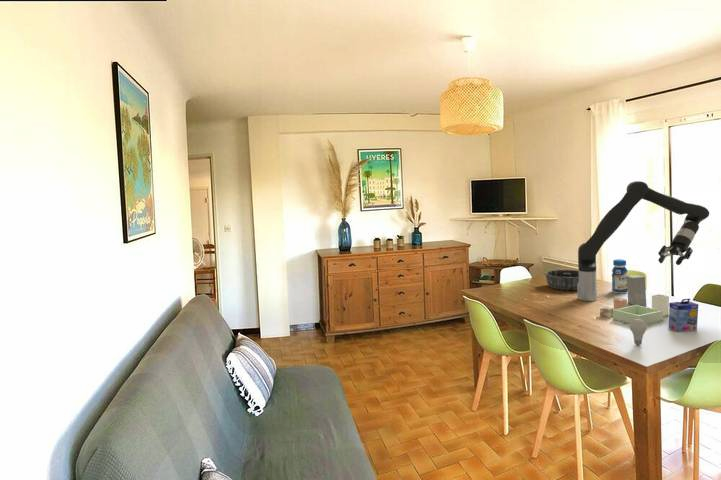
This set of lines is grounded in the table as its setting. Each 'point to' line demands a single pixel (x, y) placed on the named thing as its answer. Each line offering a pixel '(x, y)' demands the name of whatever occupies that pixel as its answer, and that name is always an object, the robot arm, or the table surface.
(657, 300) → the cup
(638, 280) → the skincare box
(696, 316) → the ink cartridge box
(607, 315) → the beech block
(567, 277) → the bundt pan
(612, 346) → the table surface
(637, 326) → the lightbulb
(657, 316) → the tub
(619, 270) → the beverage bottle
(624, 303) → the reddish brown block
